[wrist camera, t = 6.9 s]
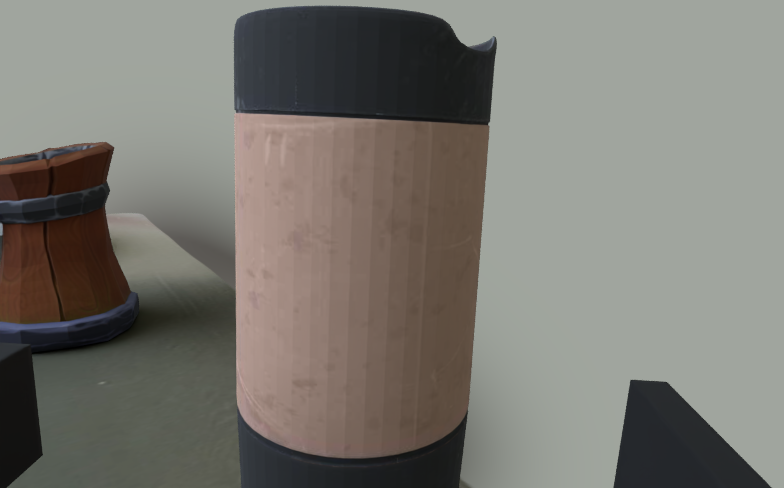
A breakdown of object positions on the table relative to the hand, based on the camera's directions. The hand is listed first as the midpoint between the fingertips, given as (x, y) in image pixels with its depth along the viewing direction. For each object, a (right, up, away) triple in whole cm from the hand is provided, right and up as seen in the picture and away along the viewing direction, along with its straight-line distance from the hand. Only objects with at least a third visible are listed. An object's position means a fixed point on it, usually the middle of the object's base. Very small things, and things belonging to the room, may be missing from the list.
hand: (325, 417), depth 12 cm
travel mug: (0, -10, +8) cm, 13 cm away
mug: (-28, -4, +30) cm, 41 cm away
